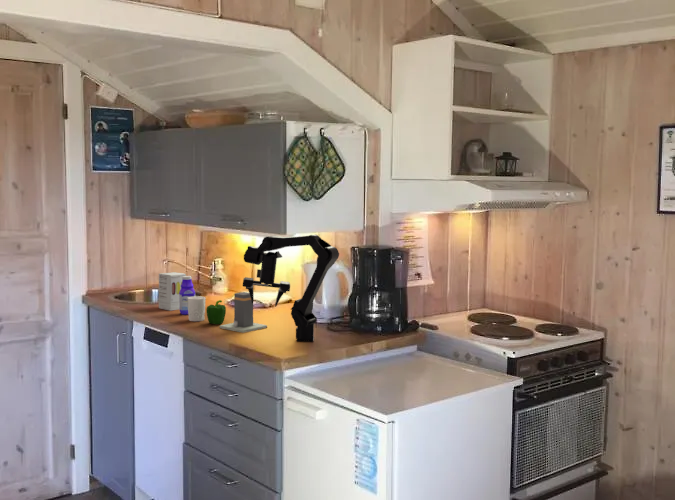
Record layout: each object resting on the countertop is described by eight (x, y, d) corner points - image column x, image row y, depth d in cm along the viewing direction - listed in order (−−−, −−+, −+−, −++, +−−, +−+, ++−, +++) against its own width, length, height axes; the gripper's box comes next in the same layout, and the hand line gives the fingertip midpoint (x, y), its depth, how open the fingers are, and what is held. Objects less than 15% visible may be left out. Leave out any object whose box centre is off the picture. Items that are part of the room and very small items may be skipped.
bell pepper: (208, 326, 314) (208, 302, 313) (204, 322, 322) (204, 299, 321) (228, 324, 317) (228, 301, 316) (223, 321, 325) (223, 298, 324)
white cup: (197, 322, 321) (197, 299, 320) (183, 320, 325) (183, 298, 324) (209, 319, 328) (209, 297, 327) (195, 317, 332) (195, 295, 331)
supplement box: (170, 311, 347) (170, 275, 345) (158, 308, 353) (157, 273, 351) (186, 308, 354) (186, 273, 353) (174, 306, 360) (173, 271, 358)
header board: (267, 327, 313) (267, 319, 312) (243, 332, 302) (243, 324, 301) (243, 323, 321) (243, 315, 321) (219, 327, 310) (219, 319, 310)
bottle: (180, 315, 336) (180, 277, 335) (178, 313, 341) (177, 275, 340) (196, 314, 339) (196, 276, 338) (193, 312, 344) (193, 275, 343)
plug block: (253, 325, 312) (253, 293, 310) (243, 327, 307) (243, 295, 306) (243, 323, 315) (243, 292, 314) (234, 325, 311) (234, 293, 309)
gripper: (291, 266, 303) (286, 303, 305) (245, 260, 301) (241, 298, 303) (292, 271, 292) (287, 309, 294) (244, 266, 290) (240, 304, 292)
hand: (264, 305), depth 296 cm, fingers open, 9 cm apart
